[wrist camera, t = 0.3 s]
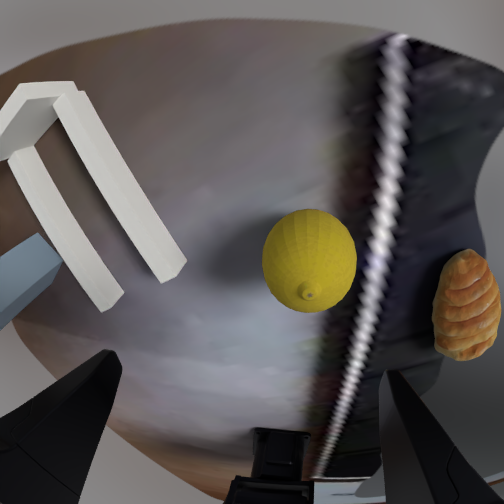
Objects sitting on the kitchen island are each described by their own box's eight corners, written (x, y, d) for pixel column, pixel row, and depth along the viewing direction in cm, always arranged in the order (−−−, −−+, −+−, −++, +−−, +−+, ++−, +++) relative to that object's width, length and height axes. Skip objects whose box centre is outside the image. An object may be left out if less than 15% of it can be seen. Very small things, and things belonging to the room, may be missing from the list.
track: (187, 260, 25) (157, 303, 20) (114, 297, 28) (80, 336, 23) (76, 77, 20) (23, 78, 14) (19, 142, 23) (-28, 157, 17)
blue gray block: (63, 259, 27) (-29, 339, 16) (52, 283, 29) (-29, 359, 17) (37, 232, 27) (-59, 300, 15) (27, 257, 28) (-57, 325, 17)
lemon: (287, 277, 24) (278, 349, 17) (256, 211, 22) (233, 265, 15) (358, 253, 23) (377, 321, 15) (332, 182, 21) (346, 224, 14)
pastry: (417, 262, 22) (434, 288, 19) (489, 233, 20) (512, 254, 17) (432, 347, 25) (443, 375, 22) (493, 321, 23) (509, 346, 20)
